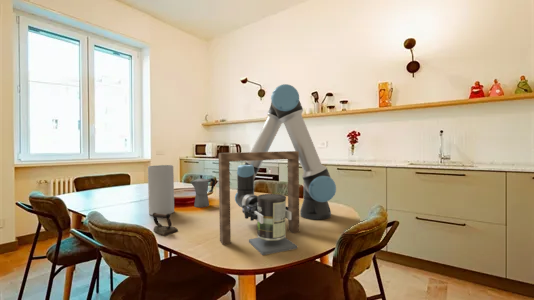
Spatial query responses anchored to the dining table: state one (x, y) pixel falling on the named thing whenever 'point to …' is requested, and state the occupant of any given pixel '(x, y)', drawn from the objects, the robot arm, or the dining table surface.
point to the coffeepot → (202, 191)
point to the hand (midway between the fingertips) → (276, 217)
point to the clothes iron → (163, 229)
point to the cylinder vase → (161, 189)
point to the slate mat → (272, 245)
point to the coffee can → (271, 216)
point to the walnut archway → (252, 156)
